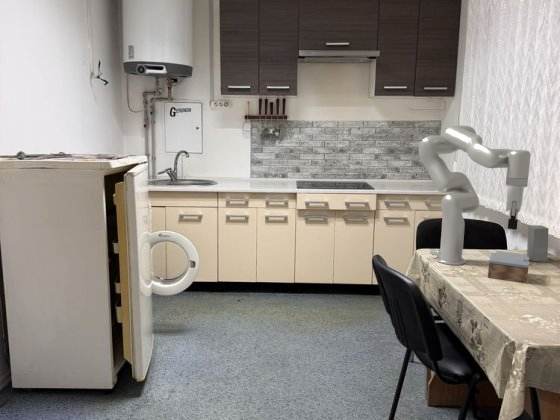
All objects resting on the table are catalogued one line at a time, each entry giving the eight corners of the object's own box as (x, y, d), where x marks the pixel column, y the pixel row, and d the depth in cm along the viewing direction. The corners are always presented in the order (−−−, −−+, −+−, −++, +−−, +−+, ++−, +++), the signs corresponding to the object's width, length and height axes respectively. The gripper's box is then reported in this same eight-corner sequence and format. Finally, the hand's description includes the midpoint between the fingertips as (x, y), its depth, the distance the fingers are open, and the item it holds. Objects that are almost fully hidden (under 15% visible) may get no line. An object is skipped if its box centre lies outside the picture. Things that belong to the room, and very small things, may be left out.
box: (487, 277, 183) (489, 263, 182) (490, 268, 195) (491, 255, 194) (526, 283, 176) (528, 268, 175) (527, 274, 188) (528, 260, 187)
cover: (489, 262, 182) (489, 253, 181) (491, 254, 194) (492, 245, 193) (528, 268, 175) (529, 258, 175) (528, 259, 187) (529, 250, 187)
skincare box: (547, 262, 205) (551, 228, 203) (530, 261, 207) (533, 227, 204) (540, 257, 213) (544, 224, 211) (524, 256, 215) (527, 224, 212)
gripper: (506, 180, 182) (502, 224, 185) (504, 183, 169) (500, 231, 172) (528, 181, 178) (523, 226, 181) (527, 185, 165) (522, 233, 169)
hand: (512, 228), depth 177 cm, fingers closed
